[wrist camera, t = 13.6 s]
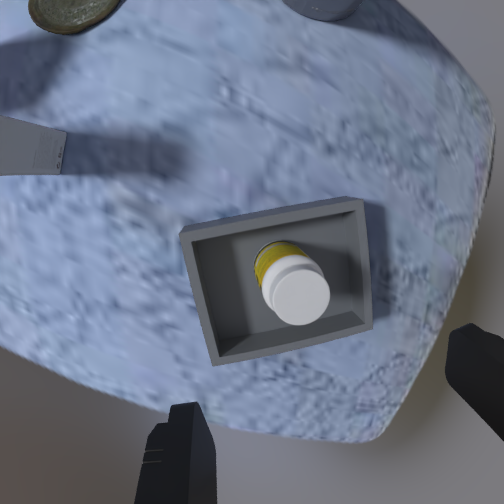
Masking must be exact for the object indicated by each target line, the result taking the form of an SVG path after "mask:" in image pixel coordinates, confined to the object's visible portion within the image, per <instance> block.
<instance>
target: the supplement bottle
mask: <svg viewBox="0 0 504 504" xmlns="http://www.w3.org/2000/svg"><path fill="white" fill-rule="evenodd" d="M254 274H255V277H256V280H257V282H258V285H259V288H260V290H261V293H262V296H263V298H264V300H265V302H266V303H267V305H268V306H269V307H270V308H271V309H272V310H273V311H275V312H276V314H277V315H278V317H279V318H280V319H281V320H283V321H284V322H286V323H288V324H292V325H306V324H309V323H311V322H313V321H315V320H316V319H318V318H319V317H320V316H321V315H322V314H323V313H324V312H325V310H326V308H327V306H328V304H329V300H330V289H329V285H328V283H327V281H326V280H325V278H324V275H323V272H322V270H321V268H320V267H319V266H318V264H317V263H316V262H314V261H313V260H312V259H311V258H310V257H309V256H308V255H307V254H305V253H304V252H303V251H302V250H301V249H300V248H299V247H298V246H297V245H295V244H293V243H292V242H289V241H285V240H275V241H272V242H269V243H267V244H266V245H264V246H263V247H262V248H261V249H260V250H259V252H258V253H257V255H256V257H255V260H254Z"/></svg>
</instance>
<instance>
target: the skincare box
mask: <svg viewBox="0 0 504 504" xmlns="http://www.w3.org/2000/svg"><path fill="white" fill-rule="evenodd" d="M66 136H67V133H66V132H63V131H59V130H56V129H52V128H48V127H45V126H41V125H37V124H33V123H29V122H26V121H22V120H18V119H13V118H10V117H6V116H1V115H0V176H6V175H59V174H60V171H61V164H62V158H63V152H64V146H65V141H66Z"/></svg>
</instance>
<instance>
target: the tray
mask: <svg viewBox="0 0 504 504" xmlns="http://www.w3.org/2000/svg"><path fill="white" fill-rule="evenodd" d="M179 237H180V241H181V246H182V250H183V255H184V259H185V263H186V267H187V272H188V276H189V280H190V284H191V288H192V292H193V296H194V300H195V304H196V308H197V312H198V315H199V319H200V323H201V327H202V330H203V334H204V338H205V341H206V345H207V348H208V352H209V356H210V359H211V363H212V366H218V365H224V364H229V363H234V362H240V361H245V360H250V359H255V358H260V357H265V356H269V355H274V354H278V353H283V352H287V351H292V350H296V349H300V348H304V347H308V346H312V345H316V344H320V343H324V342H328V341H332V340H336V339H339V338H343V337H347V336H350V335H354V334H357V333H361V332H364V331H368V330H371V329H373V316H372V293H371V276H370V262H369V250H368V239H367V229H366V220H365V211H364V203H363V199H359V198H353V197H347V196H344V197H338V198H332V199H326V200H320V201H314V202H308V203H303V204H297V205H291V206H286V207H280V208H275V209H269V210H264V211H259V212H254V213H248V214H243V215H238V216H233V217H228V218H223V219H218V220H213V221H208V222H203V223H198V224H193V225H188V226H184V227H183V229H182V230H181V231H180V233H179ZM275 240H285V241H289V242H292V243H293V244H295V245H297V246H298V247H299V248H300V249H301V250H302V251H303V252H304V253H305V254H307V255H308V256H309V257H310V258H311V259H312V260H313V261H314V262H316V263H317V264H318V266H319V267H320V268H321V270H322V272H323V275H324V278H325V280H326V281H327V283H328V285H329V289H330V300H329V304H328V306H327V308H326V310H325V312H324V313H323V314H322V315H321V316H320V317H319V318H318V319H316V320H315V321H313V322H311V323H309V324H306V325H292V324H288V323H286V322H284V321H283V320H281V319H280V318H279V317H278V315H277V314H276V312H275V311H273V310H272V309H271V308H270V307H269V306H268V305H267V303H266V302H265V300H264V298H263V296H262V293H261V290H260V288H259V285H258V282H257V280H256V277H255V274H254V260H255V257H256V255H257V253H258V252H259V250H260V249H261V248H262V247H263V246H264V245H266V244H267V243H269V242H272V241H275Z"/></svg>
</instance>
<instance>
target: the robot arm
mask: <svg viewBox="0 0 504 504" xmlns="http://www.w3.org/2000/svg"><path fill="white" fill-rule="evenodd" d="M282 1H283V2H284V3H285V4H286V5H287V6H289V7H290V8H291V9H293V10H294V11H296V12H298V13H300V14H302V15H304V16H307V17H309V18H313V19H317V20H325V21H333V20H340V19H343V18H346V17H347V16H349V15H351V14H352V13H353V12H354V11H355V10H356V9H357V8H358V7H359V5H360V4H361V3H362V2H363V1H364V0H282ZM445 375H446V379H447V381H448V383H449V385H450V386H451V387H452V388H453V389H454V390H455V391H456V392H457V393H458V394H459V395H460V396H461V397H462V398H463V399H464V400H465V401H466V402H467V403H468V404H469V405H470V406H471V407H472V408H473V409H474V410H475V411H476V412H477V414H478V415H479V416H480V417H481V418H482V419H483V420H484V421H485V422H486V423H487V424H488V425H489V426H490V427H491V428H492V429H493V430H494V432H495V433H496V434H497V435H498V436H499V437H500V438H501V439H502V440H503V441H504V339H503V338H501V337H500V336H498V335H495V334H492V333H489V332H485V331H484V330H482V329H481V328H479V327H477V326H476V325H474V324H473V323H469V324H467V325H464V326H462V327H460V328H457V329H455V330H453V331H452V332H451V333H450V335H449V342H448V351H447V359H446V366H445ZM145 451H146V453H144V457H143V464H142V467H141V472H140V476H139V481H138V486H137V492H136V497H135V502H134V504H217V478H216V450H215V445H214V441H213V438H212V435H211V432H210V430H209V427H208V425H207V423H206V420H205V418H204V415H203V413H202V410H201V408H200V405H199V404H198V402H190V403H183V404H175V405H172V406H171V408H170V413H169V419H168V423H158V424H157V425H156V426H155V428H154V429H153V430H152V432H151V433H150V434H149V436H148V439H147V444H146V448H145Z"/></svg>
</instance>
